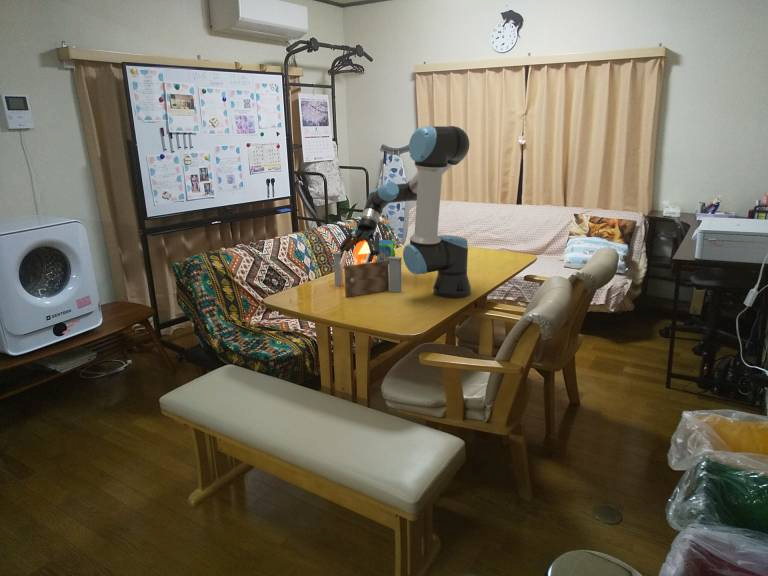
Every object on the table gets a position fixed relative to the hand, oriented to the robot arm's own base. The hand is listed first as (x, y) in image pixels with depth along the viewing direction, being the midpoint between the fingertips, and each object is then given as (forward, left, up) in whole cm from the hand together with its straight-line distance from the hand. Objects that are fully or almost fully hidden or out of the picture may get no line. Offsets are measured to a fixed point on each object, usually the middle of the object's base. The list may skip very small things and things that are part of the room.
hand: (353, 266), depth 215 cm
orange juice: (0, -10, -11) cm, 15 cm away
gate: (-7, +1, -10) cm, 12 cm away
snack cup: (+9, -52, -11) cm, 53 cm away
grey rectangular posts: (-2, -6, -10) cm, 12 cm away
